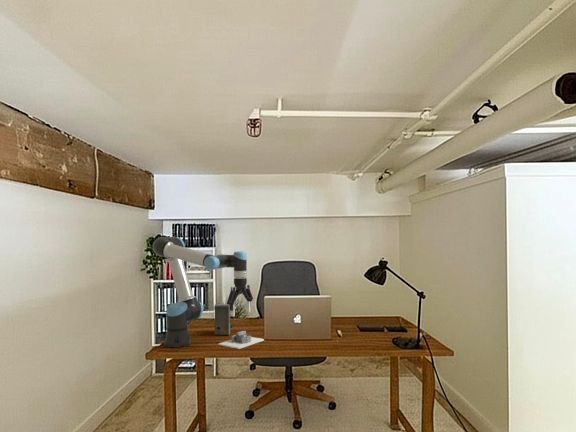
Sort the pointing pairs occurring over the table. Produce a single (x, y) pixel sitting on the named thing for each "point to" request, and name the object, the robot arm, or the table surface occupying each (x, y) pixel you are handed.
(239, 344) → the barrel stand
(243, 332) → the light grey cube
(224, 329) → the vintage camera
